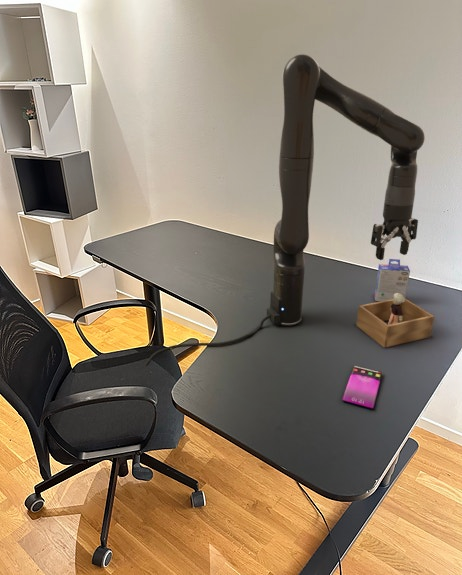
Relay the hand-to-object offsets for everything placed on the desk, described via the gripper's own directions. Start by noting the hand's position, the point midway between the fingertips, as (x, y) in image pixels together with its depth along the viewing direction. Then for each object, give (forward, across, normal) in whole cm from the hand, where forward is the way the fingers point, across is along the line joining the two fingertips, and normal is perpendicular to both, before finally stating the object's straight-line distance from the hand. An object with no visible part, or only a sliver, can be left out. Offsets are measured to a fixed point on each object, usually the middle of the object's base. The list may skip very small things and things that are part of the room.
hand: (391, 256), depth 126 cm
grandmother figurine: (+24, -1, +3) cm, 24 cm away
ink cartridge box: (+24, -15, -14) cm, 32 cm away
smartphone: (+23, +25, +22) cm, 40 cm away
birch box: (+24, -1, +3) cm, 24 cm away
